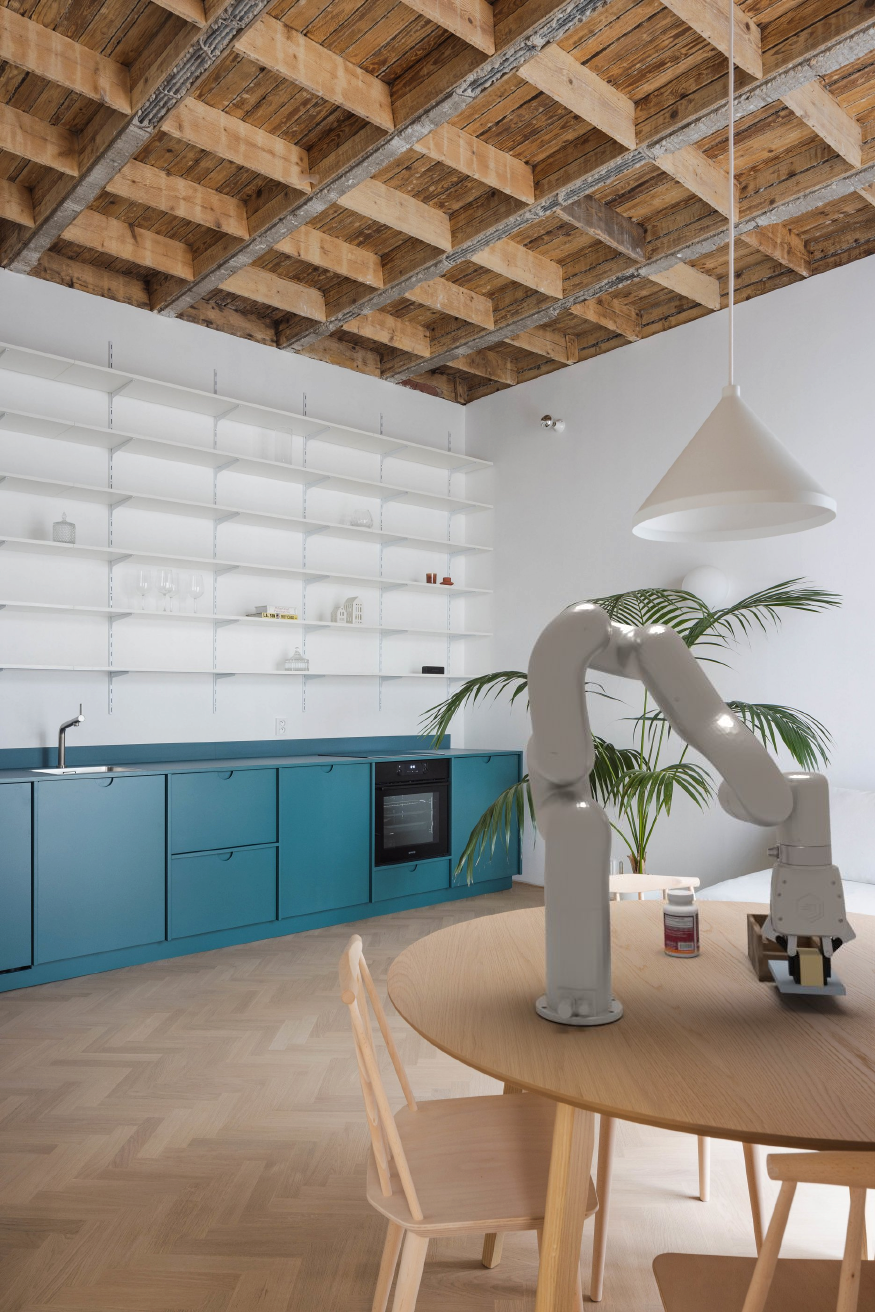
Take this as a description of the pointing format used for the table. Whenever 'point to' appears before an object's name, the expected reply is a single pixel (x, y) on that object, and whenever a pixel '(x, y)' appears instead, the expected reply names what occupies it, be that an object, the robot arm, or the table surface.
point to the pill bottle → (681, 924)
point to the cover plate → (796, 988)
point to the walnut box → (769, 947)
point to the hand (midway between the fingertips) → (809, 980)
